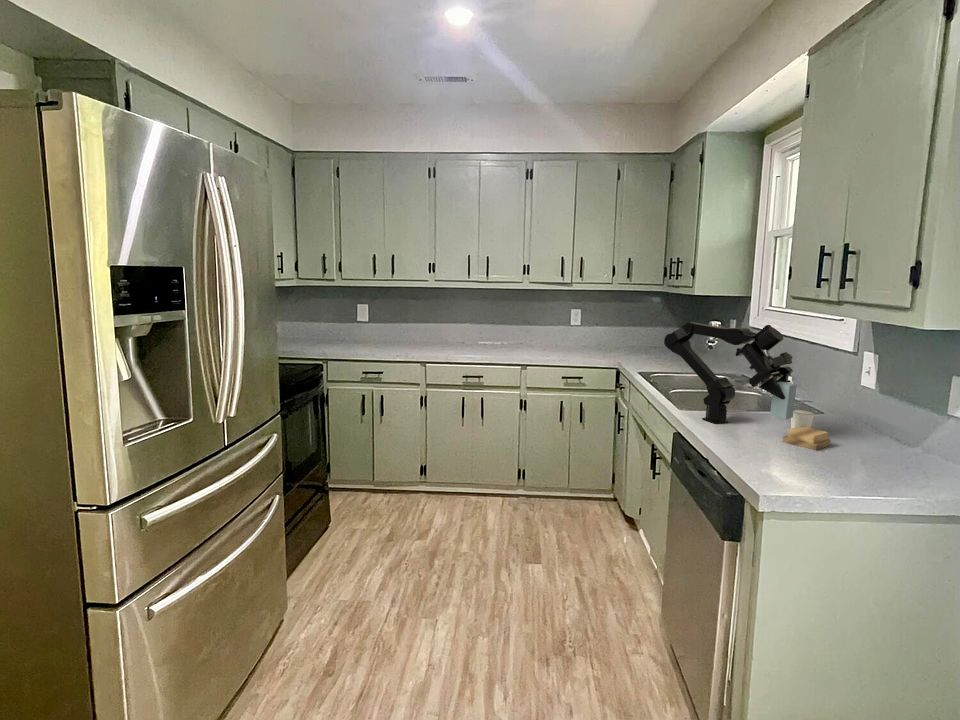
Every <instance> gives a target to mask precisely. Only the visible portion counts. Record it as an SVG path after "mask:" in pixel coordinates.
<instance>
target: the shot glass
mask: <svg viewBox="0 0 960 720" xmlns="http://www.w3.org/2000/svg"><path fill="white" fill-rule="evenodd" d="M814 417H815V413H814V412H812V411H808V410H804V409H794V411H793V417H792V418H791V419H790V429H792V428H797V427H801V426H804V427H808V428H812V425H813V420H814Z"/></svg>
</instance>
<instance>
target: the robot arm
mask: <svg viewBox="0 0 960 720" xmlns="http://www.w3.org/2000/svg"><path fill="white" fill-rule="evenodd" d="M694 335H700V336H704V337H710V338H715V339H719V340H722V341H724V342H725V343H728V344H731V345H733V346H740V345H743V346H742V347H737V348H736V352H735V357H740V356H741V357H742V356H743V357H744V358H745V359H746V361H747V363H749V364H750V366H749V369H750V370H754V371H755V374H754V375H753V376H752V377H750V378H749V380H748V381H749V385H750V386H751V388H756V387H758V388H759V389H762V390H764V391H765V392H767V393H770V394H773V395H775V396H777V397H779V398H780V399H782V400H783V399H785V396H784V394H783V392H782V391H781V389H780V387H779V386H778V384H777V382H787V383H789V376H790V375H791V374H792V373H793V372H794V370H793V369H792V368H791V367H790V366H788V365H791V364H793V361H792V359H793V358H794V357H793V356H792V355H791V354H790V353H789V352H787V351H786V352H782V353H780V354H779V356H778V355H777V356H774V357H773V356H772V355H767V354H766V353H765V351H769V352H770V350H772V349H773V348H774V347H775V346H777V345H778V344H779V343H781V342H782V341H783V340H784V336H783V334H782V333H781V332H780V331H779V330H777V328H775V327H773V326H771V324H766V325H765V326H763V327H762V329H761V330H759V331H758V332H752V331H751V329H750V328H748V327H722V326H718V325H717V326H716V325H711V324H705V323H700V322H697V321H687V322H686V323H685V324H684V325H682V326H681V327H679V328H678V329H676V330H674V331H673V332H671V333H668V334H666V335H665V337H664V340H663V345H664V346H665V347H666V348H667V349H668V350H669V351H671V352H672V353H674V354H676V355H677V356H679V357H680V358H682V359H683V360H684V362H685V363H686V364H687V365H688V366H689V367H690V369H691V370H692V371H693V372H694V373H695V374H696V375H697V376H698V377H699V379H700V380H701V381H702V383H704V384H705V387H706V391H707V393H708V395H707V396H705V397H704V398H702V400H703V404H704V405H706V406H705V407H706V409H705V410H706V411H705V417H702V418H701V420H703V421H706V422H708V423H712V424H714V425H715V424H716V425H717V424H724V423H729V420H728V419H727V412H728V411H727V407H728V406H727V405H729V404H730V403H731V402H732V401H731V400H733V399H734V398H735V396H736V389H735V388H734V386H735V385H734V384H732V383H731V382H730V380H729V379H728V378H727V377H726V376H725V377H721V378H720V377H718V376H717V375H716V374H715V372H713V370H712V369H711V368H710V367H709V366H708V365H707V363H705V362H704V361H703V359H702V358H701V357H700V356H699V355H698V354H697V353H696V352H695V351H694V350H693V348H692V345H691V342H690V340H691V339H692V338H693V336H694ZM759 384H760V385H759Z"/></svg>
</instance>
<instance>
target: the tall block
mask: <svg viewBox="0 0 960 720" xmlns="http://www.w3.org/2000/svg"><path fill="white" fill-rule="evenodd" d="M777 384H778V386H779V387H780V389H781V391H782V392H783V394H784V396H785V399H783V400H782V399H780V398H779V397H777V396H775V395H773V394H772V395H771V404H770V411H769V412H770V413H769V416H770V417H772V418H773V417H774V418H777V419H782V420H789V419H790V418H792V417H793V411H794V410H795V402H796V394H797V387H798V386H797V384H796V383H792V382H788V383H787V382H777Z"/></svg>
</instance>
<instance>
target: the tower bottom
mask: <svg viewBox="0 0 960 720" xmlns="http://www.w3.org/2000/svg"><path fill="white" fill-rule="evenodd" d="M782 443H785V444H787V445H791V446H796V447H799V446H800V448H803V447H804V449H807V448H808V450H811V449H812V450H811V451H815V450H816V451H818V449H819V450H821V449H823V447H824V448H826V447H829V446H830V445H831V438H827V440H825V441H822V442H818V443H814V444H813V443H809V442H805V441H801V440H798V439H794V438H790V437H788V434H786V435H784V436H782ZM828 445H829V446H828Z"/></svg>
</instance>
